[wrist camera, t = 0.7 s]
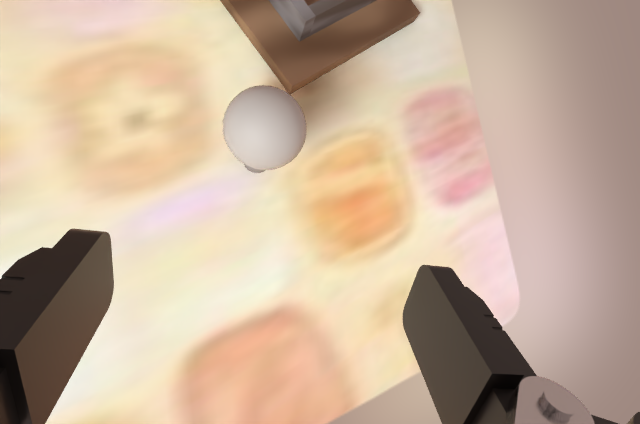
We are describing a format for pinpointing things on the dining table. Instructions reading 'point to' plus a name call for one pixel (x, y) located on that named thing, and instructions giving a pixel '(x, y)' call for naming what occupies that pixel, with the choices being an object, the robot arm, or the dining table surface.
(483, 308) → the robot arm
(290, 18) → the bulb socket
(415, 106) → the dining table surface
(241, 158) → the lightbulb
